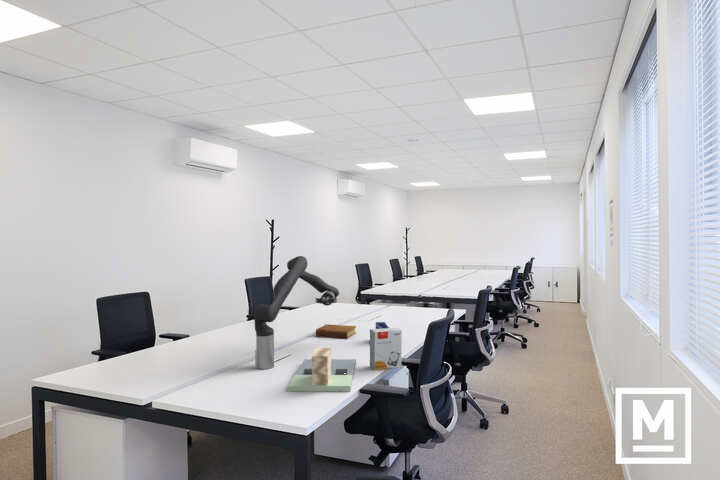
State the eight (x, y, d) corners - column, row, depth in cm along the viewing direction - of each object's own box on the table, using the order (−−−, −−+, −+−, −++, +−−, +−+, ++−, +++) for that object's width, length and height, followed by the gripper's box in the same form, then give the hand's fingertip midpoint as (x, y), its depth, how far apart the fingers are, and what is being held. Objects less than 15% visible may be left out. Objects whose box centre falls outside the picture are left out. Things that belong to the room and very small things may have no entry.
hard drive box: (373, 370, 236) (373, 331, 235) (369, 366, 243) (369, 329, 243) (402, 367, 240) (401, 329, 240) (397, 364, 247) (396, 327, 247)
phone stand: (394, 344, 292) (394, 325, 292) (376, 344, 292) (375, 325, 292) (393, 339, 304) (393, 321, 304) (375, 340, 304) (375, 322, 304)
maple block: (312, 385, 206) (311, 356, 206) (316, 374, 221) (316, 348, 221) (327, 385, 206) (327, 356, 206) (331, 374, 221) (330, 348, 221)
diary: (315, 337, 316) (315, 329, 316) (326, 332, 334) (326, 324, 334) (347, 339, 308) (346, 331, 308) (356, 333, 326) (356, 325, 326)
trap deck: (288, 391, 206) (288, 385, 206) (304, 363, 250) (304, 359, 249) (350, 391, 204) (350, 386, 204) (356, 363, 248) (356, 359, 248)
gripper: (316, 292, 275) (312, 296, 258) (338, 292, 275) (335, 295, 257) (317, 304, 275) (312, 309, 258) (338, 304, 275) (336, 309, 257)
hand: (324, 302), depth 258 cm, fingers closed
